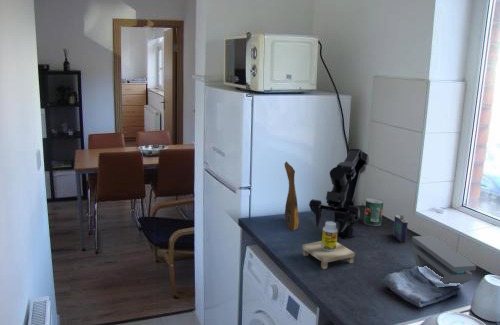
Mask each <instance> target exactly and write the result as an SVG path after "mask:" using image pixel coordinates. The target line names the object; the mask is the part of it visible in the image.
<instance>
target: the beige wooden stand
mask: <svg viewBox="0 0 500 325" xmlns="http://www.w3.org/2000/svg"><path fill="white" fill-rule="evenodd" d="M321 244H322V240H319V241H314V242H310V243H309V242H308V243H304V244H302V245H301V246H302V247H301V248H302V255H303V256H304V257H308V256H309V254H310V255H311V256H312V257H314V258H315V259H317V260H319V262H320V261H321V262H320V268H321V269H323V270H327V269H328V265H329V264H328V263H331V262H335V261H341V260H347V263H348V264H354V260H355V258H354V257H355V256H356V253H355V251H352V250H351V249H349V248H347V247H346V246H344V245H343V244H341V243H339V242H338V241H337V244H336V249H335V250H334V251H326V250H324V249H322V247H321Z"/></svg>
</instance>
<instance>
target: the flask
mask: <svg viewBox="0 0 500 325" xmlns="http://www.w3.org/2000/svg"><path fill="white" fill-rule="evenodd" d="M405 215H406V214H399V215H397V214H395V215H394V221H393V223H394V224H393V229H392V235H393V237H395V239H397V240H399V241H400V243H407V234H408V233H407V232H408V225H409V221H408V220H407V219H406V217H405Z"/></svg>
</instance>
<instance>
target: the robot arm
mask: <svg viewBox="0 0 500 325" xmlns="http://www.w3.org/2000/svg"><path fill="white" fill-rule="evenodd" d="M369 161H370V158H369V155H368V153H366V152H364V151H363V150H362V149H360V148H350V149H349V151H348V154H347V155H346V157H345V159H344V161H342V162H339V163H338V164H337V165H336V166H335V167H333V168H331V170H330V171H329V177H330V181H331V184H332V189H331V191H329V190H328V191H326V196H325V197H326V198H325V201H326V204H324V203H322V201H321V200H318V199H313V198H312V199H311V200H310V201H309V203H308V207H309V209H310V211H311V212H313V214H315V227H316V228H319V226H320V222H321V219H322V212H323V211H330V212H334V222H337V229H338V233H337V237H340V238H341V239H349V238H355V237H356V235H355V234H354V225H356V224H358V220H360V218H361V210H360V207H359V206H356V205H355V197H356V195H357V194H356V193H357V190H358V185H359V181H360V177H361V174H362V173H363V172H364V171H366V168H367V166H368V165H369Z"/></svg>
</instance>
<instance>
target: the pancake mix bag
mask: <svg viewBox="0 0 500 325" xmlns="http://www.w3.org/2000/svg"><path fill="white" fill-rule="evenodd" d="M284 169H285V172H286V176H287V180H288V193H287V197H286V201H285V202H286V203H285V209H284V218H285V219H284V220H285V224H286V228H287V230H290V231H293V232H295V230H298V227H299V206H298V198H297V190H296V186H295V185H296V184H295V172H296V170H295V169H294V168H293V166H292V165H290V164H289V162H288V161H285V162H284Z"/></svg>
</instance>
